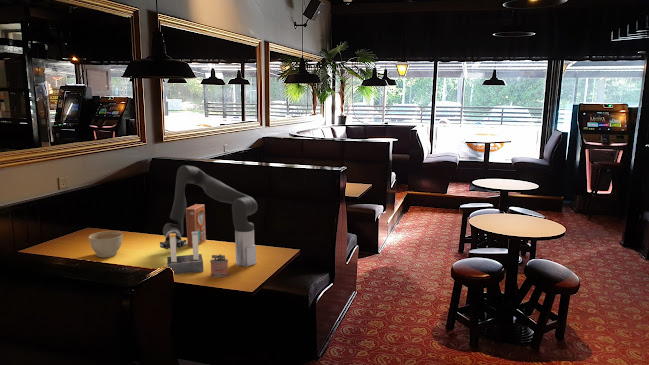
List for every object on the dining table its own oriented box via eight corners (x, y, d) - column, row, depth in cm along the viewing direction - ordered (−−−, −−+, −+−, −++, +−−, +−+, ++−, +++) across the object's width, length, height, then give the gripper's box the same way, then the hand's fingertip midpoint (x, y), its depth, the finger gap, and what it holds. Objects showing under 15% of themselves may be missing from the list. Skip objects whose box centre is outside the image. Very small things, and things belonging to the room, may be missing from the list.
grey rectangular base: (167, 266, 233) (167, 256, 233) (201, 263, 238) (201, 253, 237) (167, 275, 222) (167, 264, 221) (203, 271, 227) (202, 261, 226)
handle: (192, 258, 229) (191, 231, 227) (198, 257, 230) (197, 231, 228) (193, 260, 227) (191, 233, 225) (199, 259, 228) (197, 232, 226)
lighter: (229, 274, 223) (228, 253, 222) (227, 276, 220) (227, 255, 218) (211, 274, 223) (210, 253, 221) (210, 277, 220) (209, 256, 218)
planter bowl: (93, 262, 241) (91, 241, 239) (87, 254, 254) (86, 234, 252) (127, 256, 250) (125, 235, 248) (119, 248, 263) (118, 229, 261)
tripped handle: (170, 260, 226) (169, 233, 224) (177, 259, 227) (175, 233, 225) (170, 262, 224) (169, 235, 221) (177, 261, 224) (175, 234, 222)
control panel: (208, 240, 280) (196, 247, 265) (196, 239, 281) (184, 246, 266) (206, 203, 276) (194, 209, 262) (195, 203, 278) (183, 209, 263)
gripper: (159, 232, 239) (158, 242, 223) (186, 230, 243) (187, 240, 227) (159, 247, 240) (158, 257, 224) (187, 245, 244) (188, 255, 228)
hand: (173, 248), depth 225 cm, fingers closed
